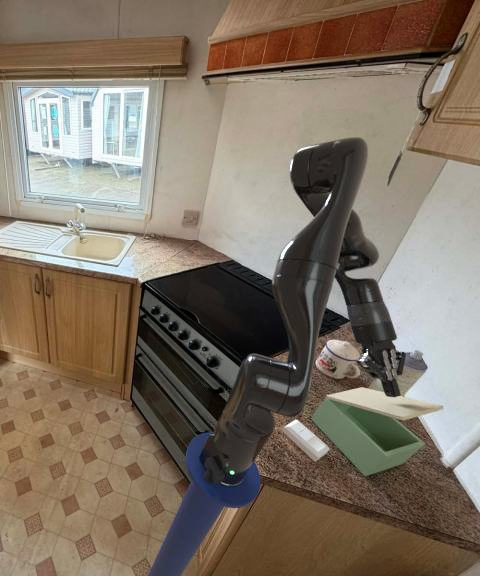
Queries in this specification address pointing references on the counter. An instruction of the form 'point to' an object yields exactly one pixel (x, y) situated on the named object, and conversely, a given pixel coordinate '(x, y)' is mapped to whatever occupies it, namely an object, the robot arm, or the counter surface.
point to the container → (366, 436)
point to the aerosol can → (406, 373)
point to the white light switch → (305, 440)
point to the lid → (385, 403)
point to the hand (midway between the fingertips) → (393, 396)
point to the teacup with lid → (338, 359)
